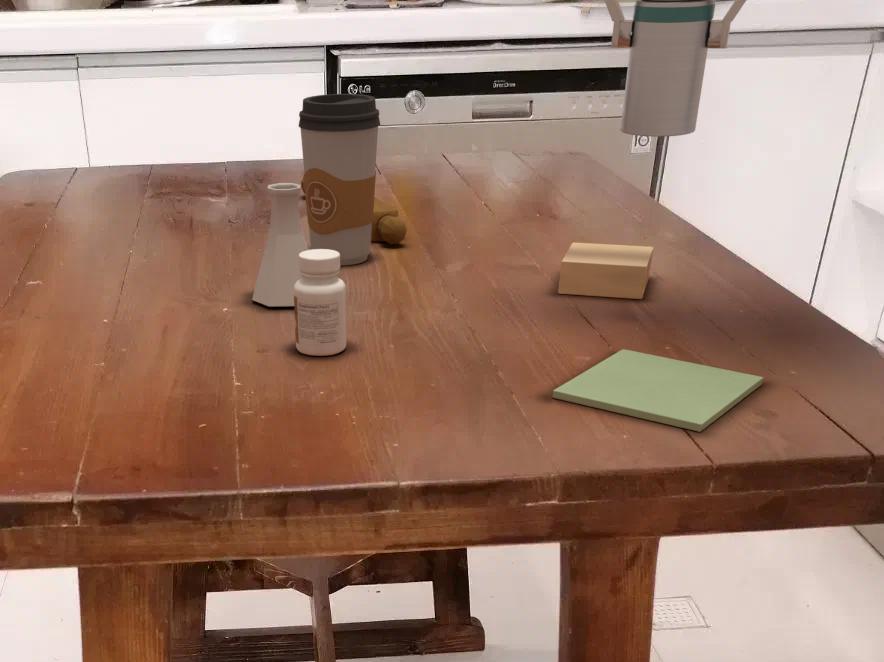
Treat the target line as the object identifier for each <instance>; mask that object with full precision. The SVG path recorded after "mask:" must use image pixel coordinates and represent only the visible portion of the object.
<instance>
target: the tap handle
mask: <svg viewBox="0 0 884 662" xmlns="http://www.w3.org/2000/svg"><path fill="white" fill-rule="evenodd" d="M300 185H301V190H302V192H303V194H304V195H305V184H304V175H303V176H302V178H301V180H300ZM406 234H407V225H406V222H405V221H404V220H403V219H402V218H400V217H399V211H398V208H397V207H394V206H392V205H390V204H388V203H386V202H385V201H383V200H381V199H379V198H377V197H375V196H374V210H373V222H372V229H371V242H387V243H388V244H389V245H396V244H397V245H398V244H400V243H401V242H402V241H403V240H404V239H405V238H406Z"/></svg>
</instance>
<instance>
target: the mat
mask: <svg viewBox="0 0 884 662" xmlns="http://www.w3.org/2000/svg"><path fill="white" fill-rule="evenodd" d="M763 382H764V376H760V375H754V374H749V373H744V372H740V371H734V370H729V369H724V368H719V367H716V366H715V367H714V366H709V365H705V364H699V363H695V362H690V361H685V360H680V359H673V358H670V357H665V356H660V355H656V354H650V353H646V352H640V351H635V350H631V349H625V348H622V349H620V350H619V351H617V352H615V353H614V354H612V355H611V356H608V357H607V358H605V359H604V360H602V361H600V362H598V363H597V364H595V365H593V366H592V367H590V368H589V369H587V370H585V371H583V372H582V373H580V374H579V375H577V376H575V377H574V378H572V379H569V380H568V381H566V382H564V383H562V384H561V385H559V386H558V387H556V388H555V389H553V390H552V396H551V397H552V399H557V400H561V401H564V402H570V403H575V404H578V405H583V406H587V407H590V408H591V407H592V408H595V409H599V410H603V411H608V412H613V413H617V414H621V415H626V416H630V417H634V418H638V419H642V420H647V421H651V422H655V423H659V424H663V425H669V426H672V427H677V428H681V429H685V430H690V431H695V432H697V433H698V432H700V433H701V432H702V431H704V430H705V429H706V428H707V427H709V426H710V425H711V424H713V422H716V421H717V420H718V419H719V418H720V417H722V416H723V415H724V414H725V413H727V412H728V411H729V410H731V409H732V408H733V407H734V406H736V405H738V404H739V403H740V402H741V401H742V400H744V399H745V398H746V397H748V396H749V395H750V394H752V393H753V392H754V391H755V390H756V389H758V388H760V386H762V385H763Z"/></svg>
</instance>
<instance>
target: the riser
mask: <svg viewBox="0 0 884 662" xmlns="http://www.w3.org/2000/svg"><path fill="white" fill-rule="evenodd" d="M654 249H655V248H654V246H643V245H642V246H641V245H625V244H610V243H609V244H607V243H591V242H590V243H589V242H575V241H574V242H572V243H571V244H570V245H569V248H568V249H567V251H566V253H565V254H564V256H563V258H562V259H561V262H560V271H559V281H558V288H557V289H558V290H557V294H561V295H574V296H588V297H602V298H618V299H629V300H631V299H632V300H642V299H643V297H644V294H645V292H646V288H647V286H648V282H649V279H650V274H651V267H652V261H653V254H654Z"/></svg>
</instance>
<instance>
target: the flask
mask: <svg viewBox="0 0 884 662" xmlns="http://www.w3.org/2000/svg"><path fill="white" fill-rule="evenodd" d="M266 189H267V194H268V195H269V196H270V222H269V227H268V228H269V230H268V235H267V239H266V243H265V247H264V253H263V256H262V259H261V264H260V267H259V271H258V274H257V278H256V281H255V286H254V290H253V295H252V301H254V302H257V303H259V304H262V305H264V306H267V307H294V285H295V283H296V282H297V281H298V280H299V279H301V278H302V276H301V274H299V254H300V253H301V252H303V251H307V250H310V249H309V246H308V243H307V240H306V237H305V234H304V230H303V226H302V221H301V215H300V211H299V195H300V194H301V190H302V189H301V184H298V183H294V182H279V183H278V182H277V183H273V184H268V185H267V187H266Z"/></svg>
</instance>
